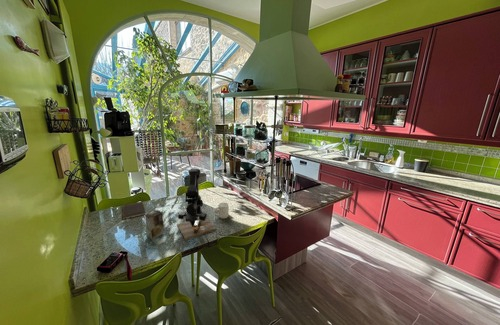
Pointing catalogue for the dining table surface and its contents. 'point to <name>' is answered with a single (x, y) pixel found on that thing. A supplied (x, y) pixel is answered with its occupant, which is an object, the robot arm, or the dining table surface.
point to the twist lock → (196, 225)
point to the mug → (222, 210)
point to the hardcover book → (133, 210)
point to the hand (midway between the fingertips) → (193, 226)
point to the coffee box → (154, 224)
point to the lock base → (189, 232)
